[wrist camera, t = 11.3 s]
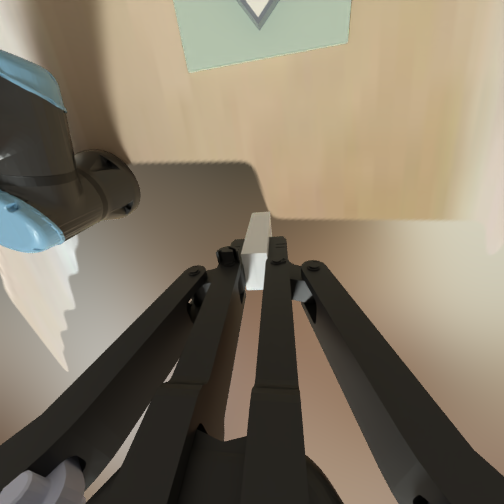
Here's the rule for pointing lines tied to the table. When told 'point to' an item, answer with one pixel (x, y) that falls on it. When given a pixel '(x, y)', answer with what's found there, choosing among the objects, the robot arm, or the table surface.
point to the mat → (249, 37)
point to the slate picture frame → (258, 10)
